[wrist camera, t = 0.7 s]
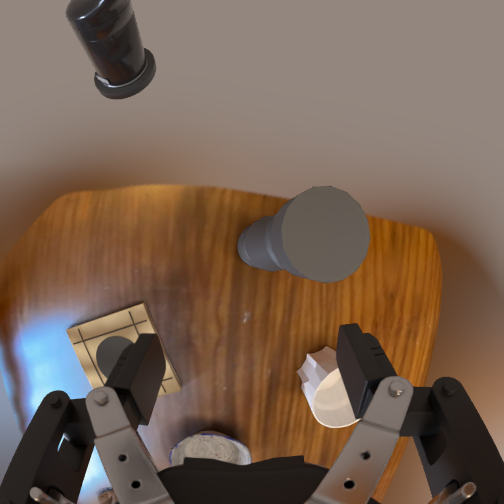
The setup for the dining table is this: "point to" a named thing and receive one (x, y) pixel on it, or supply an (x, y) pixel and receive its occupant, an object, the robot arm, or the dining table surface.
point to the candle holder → (310, 236)
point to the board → (115, 344)
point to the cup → (326, 389)
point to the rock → (107, 497)
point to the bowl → (210, 448)
